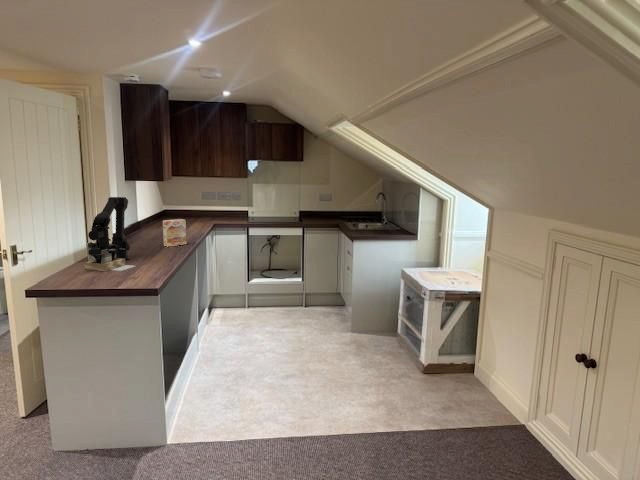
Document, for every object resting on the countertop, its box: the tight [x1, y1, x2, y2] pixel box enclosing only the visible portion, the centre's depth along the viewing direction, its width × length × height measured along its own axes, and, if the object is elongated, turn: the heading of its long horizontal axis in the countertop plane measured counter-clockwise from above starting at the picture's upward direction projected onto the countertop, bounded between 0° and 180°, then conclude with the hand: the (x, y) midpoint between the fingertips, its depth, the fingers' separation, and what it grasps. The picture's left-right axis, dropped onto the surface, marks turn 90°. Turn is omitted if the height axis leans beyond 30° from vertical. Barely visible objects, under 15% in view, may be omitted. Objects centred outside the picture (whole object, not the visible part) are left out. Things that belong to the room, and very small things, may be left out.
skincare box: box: [85, 241, 96, 262], centre depth 265 cm, size 6×4×12 cm
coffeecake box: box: [162, 218, 188, 248], centre depth 317 cm, size 15×7×20 cm, turn 131°
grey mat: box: [111, 264, 136, 272], centre depth 249 cm, size 12×6×1 cm, turn 165°
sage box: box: [101, 252, 112, 264], centre depth 251 cm, size 5×5×8 cm
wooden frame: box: [84, 257, 127, 272], centre depth 252 cm, size 16×15×4 cm
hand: (105, 263), depth 252 cm, fingers open, 9 cm apart
